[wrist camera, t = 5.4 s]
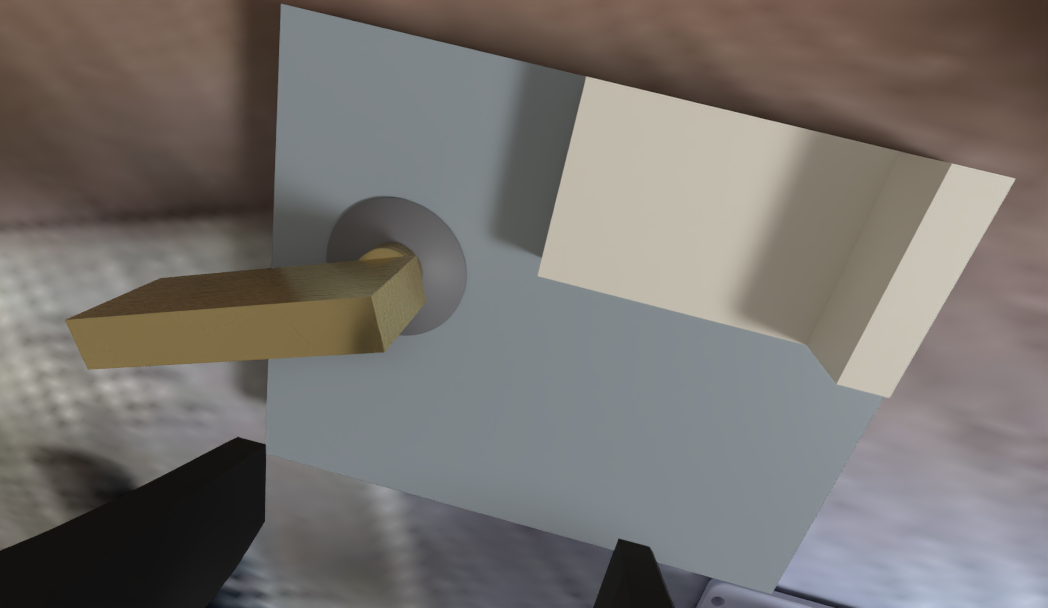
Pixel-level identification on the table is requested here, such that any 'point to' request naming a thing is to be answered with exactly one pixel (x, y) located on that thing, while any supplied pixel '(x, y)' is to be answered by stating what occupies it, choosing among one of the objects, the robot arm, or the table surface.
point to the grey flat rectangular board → (524, 325)
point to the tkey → (257, 313)
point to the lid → (765, 227)
